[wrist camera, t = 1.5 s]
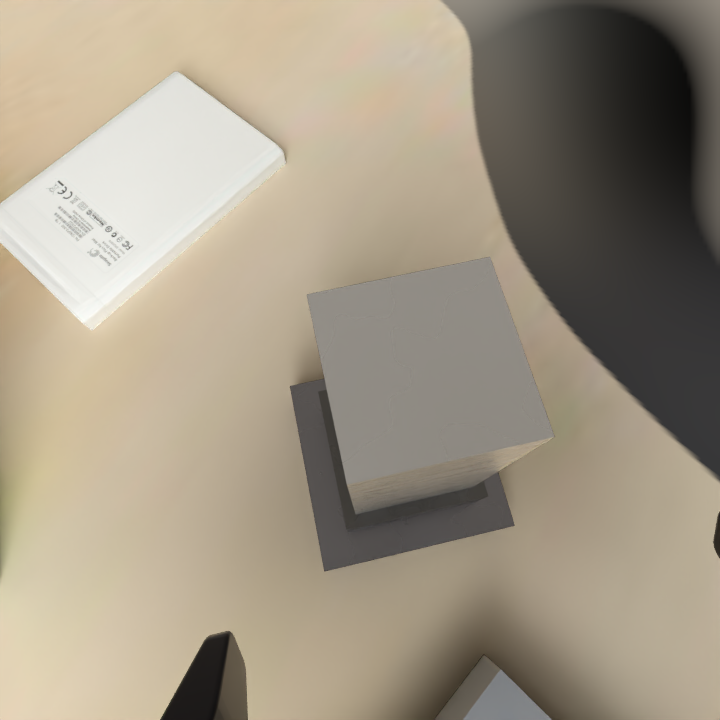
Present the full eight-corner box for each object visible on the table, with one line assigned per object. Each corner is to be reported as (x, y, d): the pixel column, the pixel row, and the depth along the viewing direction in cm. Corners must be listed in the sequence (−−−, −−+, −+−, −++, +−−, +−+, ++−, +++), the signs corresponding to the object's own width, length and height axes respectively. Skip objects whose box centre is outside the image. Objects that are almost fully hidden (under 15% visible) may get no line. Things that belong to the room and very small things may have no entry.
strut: (476, 501, 19) (582, 452, 10) (348, 532, 19) (329, 512, 9) (440, 380, 21) (502, 237, 11) (322, 406, 20) (284, 281, 11)
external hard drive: (288, 171, 27) (97, 336, 24) (183, 92, 29) (-6, 235, 26) (283, 148, 25) (79, 321, 22) (173, 67, 27) (-29, 215, 24)
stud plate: (504, 527, 20) (514, 525, 19) (327, 570, 20) (324, 571, 18) (453, 362, 23) (459, 349, 21) (295, 396, 22) (290, 386, 21)
